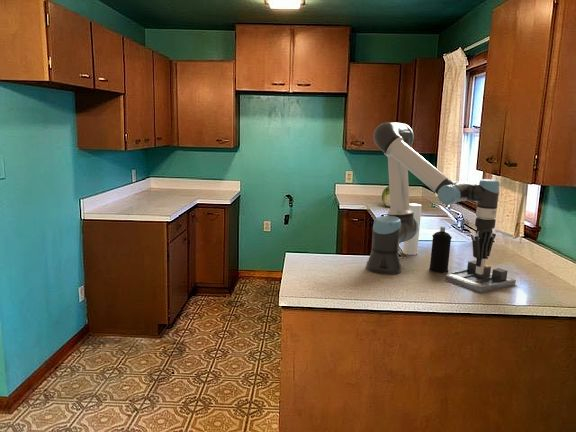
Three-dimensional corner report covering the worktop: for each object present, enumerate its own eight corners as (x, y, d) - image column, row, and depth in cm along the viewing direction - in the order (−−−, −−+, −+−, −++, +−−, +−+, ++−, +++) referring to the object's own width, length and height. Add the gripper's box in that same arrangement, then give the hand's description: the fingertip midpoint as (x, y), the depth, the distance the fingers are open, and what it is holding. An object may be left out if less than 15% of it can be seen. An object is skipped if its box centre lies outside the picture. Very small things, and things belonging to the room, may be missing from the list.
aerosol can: (438, 274, 205) (443, 229, 201) (425, 268, 212) (429, 225, 208) (452, 272, 209) (456, 228, 205) (438, 266, 216) (442, 224, 212)
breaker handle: (483, 278, 194) (485, 267, 193) (475, 275, 197) (476, 264, 196) (489, 277, 196) (491, 265, 195) (481, 274, 199) (482, 263, 198)
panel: (481, 293, 183) (483, 277, 182) (444, 279, 198) (445, 264, 197) (515, 284, 194) (517, 269, 193) (477, 272, 209) (479, 258, 208)
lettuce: (386, 216, 369) (373, 199, 369) (392, 206, 389) (379, 191, 389) (403, 204, 360) (389, 187, 360) (408, 195, 380) (395, 179, 380)
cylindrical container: (401, 253, 236) (405, 204, 231) (403, 250, 242) (407, 202, 238) (416, 255, 233) (420, 206, 229) (418, 252, 240) (422, 204, 235)
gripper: (483, 220, 184) (476, 278, 188) (504, 218, 190) (497, 274, 195) (467, 217, 190) (461, 273, 194) (487, 215, 197) (481, 269, 201)
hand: (479, 273), depth 195 cm, fingers closed
